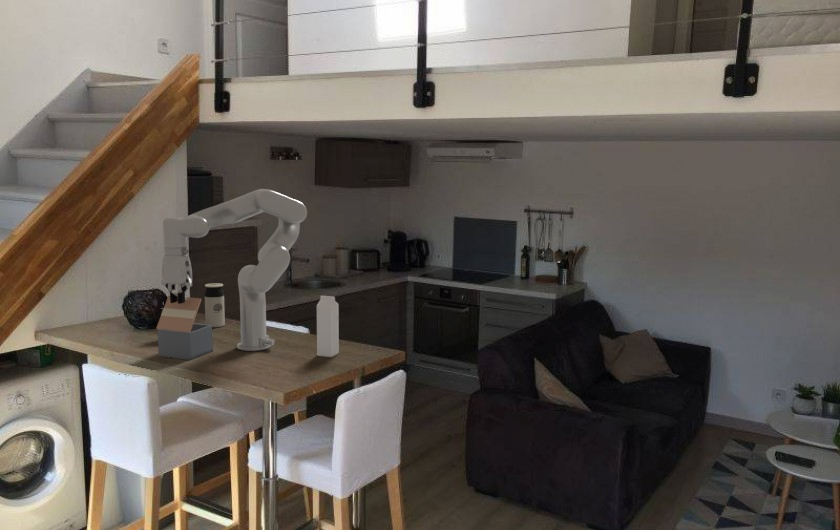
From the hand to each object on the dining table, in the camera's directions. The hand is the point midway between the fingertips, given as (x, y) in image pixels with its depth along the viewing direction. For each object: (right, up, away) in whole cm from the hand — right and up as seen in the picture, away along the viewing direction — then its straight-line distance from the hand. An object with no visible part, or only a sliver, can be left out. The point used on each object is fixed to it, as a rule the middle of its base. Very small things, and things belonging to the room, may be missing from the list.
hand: (177, 302), depth 252 cm
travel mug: (-1, -13, +51) cm, 53 cm away
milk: (+53, -20, +7) cm, 57 cm away
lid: (0, -4, +1) cm, 5 cm away
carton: (+1, -19, +6) cm, 20 cm away
